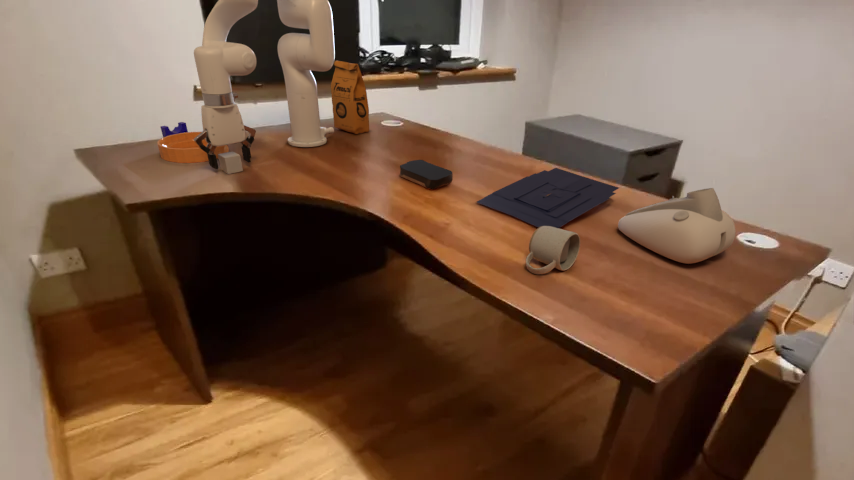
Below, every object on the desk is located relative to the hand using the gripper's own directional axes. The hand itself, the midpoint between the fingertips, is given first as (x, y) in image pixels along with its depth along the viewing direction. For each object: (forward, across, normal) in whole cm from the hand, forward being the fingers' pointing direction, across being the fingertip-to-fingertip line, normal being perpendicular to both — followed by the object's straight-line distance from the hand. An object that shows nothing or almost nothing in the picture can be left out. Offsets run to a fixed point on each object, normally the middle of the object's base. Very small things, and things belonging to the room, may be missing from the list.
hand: (231, 164), depth 151 cm
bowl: (+2, +2, -20) cm, 20 cm away
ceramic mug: (+2, -22, +95) cm, 98 cm away
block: (+2, 0, 0) cm, 2 cm away
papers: (+2, -50, +74) cm, 89 cm away
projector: (+2, -50, +106) cm, 117 cm away
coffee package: (+2, -53, -16) cm, 55 cm away
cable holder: (+2, -1, -44) cm, 44 cm away
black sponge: (+2, -37, +41) cm, 55 cm away
